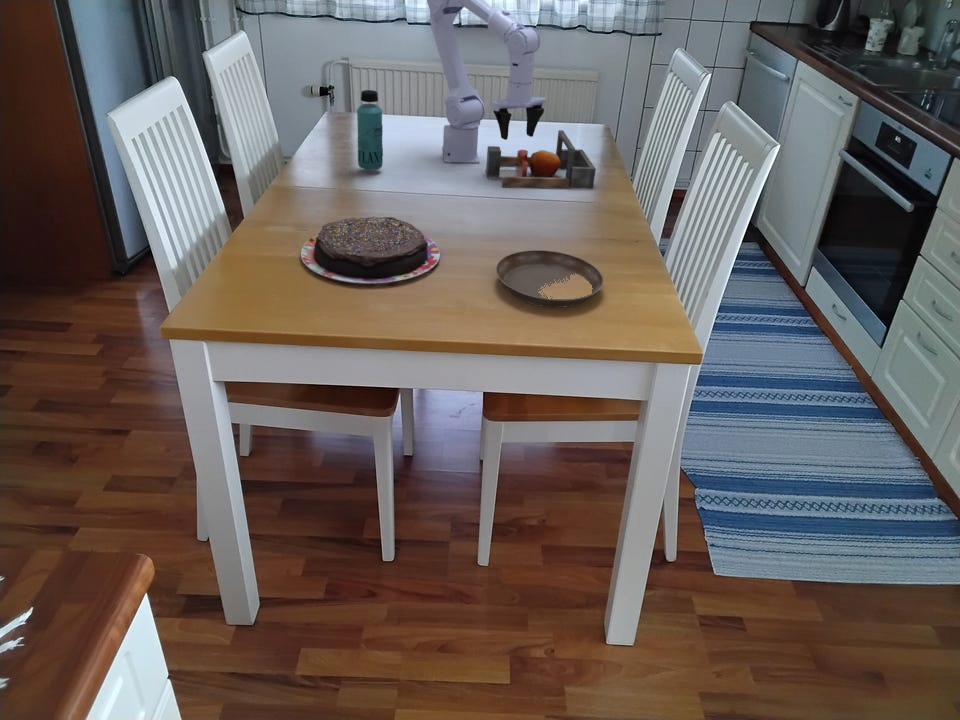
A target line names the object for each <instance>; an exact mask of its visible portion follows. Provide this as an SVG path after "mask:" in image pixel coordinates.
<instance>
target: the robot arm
mask: <svg viewBox="0 0 960 720" xmlns="http://www.w3.org/2000/svg"><path fill="white" fill-rule="evenodd" d="M426 2H427V5H428V9H429V23H430V26H431V30H432V34H433V37H434V41H435V43H436V48H437V51H438V55H439V59H440V62H441V64H442V69H443V72H444V76H445V78H446V79H445V80H446V83H447V86H448V90H449V92H448V94H447V96H446V98H445V100H444V102H445V108H446V109H445V116H446V120H447V122H448V124H446V125H444V126H443V136H442V137H443V140H442V141H443V142H442V144H443V145H442V147H441V148H442V151H441V153H442V156H443V161H444V162H445V163H466V164H470V163H471V164H479V163H480V158H479V156H478V140H479V126H480V125H481V121H482V120H483V119H484V118H485V115H486V107H485V104H484V102H483V101H482V99H481V98H480V95H479V91H478V90H476V89H475V88H474V87H473V86H471V85H470V81H469V77H468V75H467V70H466V67H465V66H466V65H465V63H464V59H463V56H462V52H461V49H460V45H459V42H458V38H457V34H456V30H455V27H454V21H455V19H456V17H457V16H458V15H459V14H460V12H461V11H462V10H463V9H464V8H465V9H466V10H468V11H469V12H471V13H473V14H474V15H476V16H477V17H478V18H480V19H481V20H483V21H484V22H486V23H487V30H488V31H489V32H490V33H491V34H493V35H494V36H495V37H496V38H498V39H499V40H500V41H502V42H503V43H504V44H505V45H506V49H507V51H508V55H509V58H508V59H509V63H510V64H509V65H510V66H509V80H508V93H507V94H508V95H507V96H508V97H507V98H504V99H500V100H494V101H491V110H492V111H493V113H494V116H495V118H496V121H497V124H498V128H499V131H500V132H499V133H500V139H503V140H505V141H506V140H508V138H509V126H510V123H511V122H510V121H511V118H512V116H513V115H512V113H510V112H509V110H515V109H526V111H525V112H526V129H525V130H526V136H528V137H531V138H533V137H534V134H535V130H536V128H537V125H538V123H539V121H540V119H541V118H542V117H543V114H544V113H545V107H546V103H547V99H546V98H545V97H543V96H538V97H537V96H532V93H533V92H532V91H533V79H534V66H535V65H534V64H535V53H536V52H537V51H538V50H539V48H540V45H541V36H540V34H539V33H538V31H537V30H536V29H535V27H532V26H528V27H526V26H525V25H524V23H523V22H522V21H518V20H517V19H515V18H514V17H513V16H511V15H510V14H511V12H510V11H509V10H507V9H497V10H496V9H495V8H494V7H493V6H492V5H490V4H489V3H488V2H487V1H486V0H426Z"/></svg>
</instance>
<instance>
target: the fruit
mask: <svg viewBox="0 0 960 720" xmlns="http://www.w3.org/2000/svg"><path fill="white" fill-rule="evenodd" d="M530 157H531V158H530V167H529V170H530V175H532V177H545V178H554V176H555V175H556V174H557V172H558V170H559V167H560V165H561V162H560V159H559V157H558V156H557V155H556V153H553V152H551V151H548V150H545V149H544V150H543V149H542V150H541V149H540V150H538V151H536V152H535V151H534V152H533V153H531V155H530Z"/></svg>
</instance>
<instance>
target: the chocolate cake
mask: <svg viewBox="0 0 960 720" xmlns="http://www.w3.org/2000/svg"><path fill="white" fill-rule="evenodd" d="M440 258H441V250H440V248H439V245H437V243H436V242H435V241H433V239H431V238H429V237H427V236H426V235H424V234H423V233H422V231H421V230H419V229H418V228H417V227H415V226H414V225H413V224H411V223H409V222H406V221H405V220H401V219H400V218H399V219H398V218H397V217H394V216H393V217H392V216H385V217H384V216H383V217H378V216H377V217H376V216H370V217H349V218H348V217H347V218H345V219H341V220H339V221H334V222H327V223H326V224H323V225H322V227H321V230H320V231H319V233H318V234H316V235H315V236H313V237H311V238H310V239H308V240H307V241H306V242H305V243H304V244H303V246H302V247H301V249H300V260H301V261H302V262H303V264H304V265H305V267H307V269H308V270H309V271H310V272H312V273H313V274H316V275H318V276H319V277H322V278H324V279H326V280H328V281H330V282H334V283H338V284H340V285H348V284H353V285H354V284H355V285H357V286H361V287H364V288H366V287H367V288H368V287H369V288H371V287H375V286H377V285H385V286H386V287H387V286H389V287H394V286H396V285H398V284H401V283H405V282H408V281H410V280H413V279H415V278H418V277H419V276H421V275H424V274H426V273H428V272H430V271H431V270H433V269H435V268H436V266H437V264H438V263H439V261H440Z"/></svg>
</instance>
